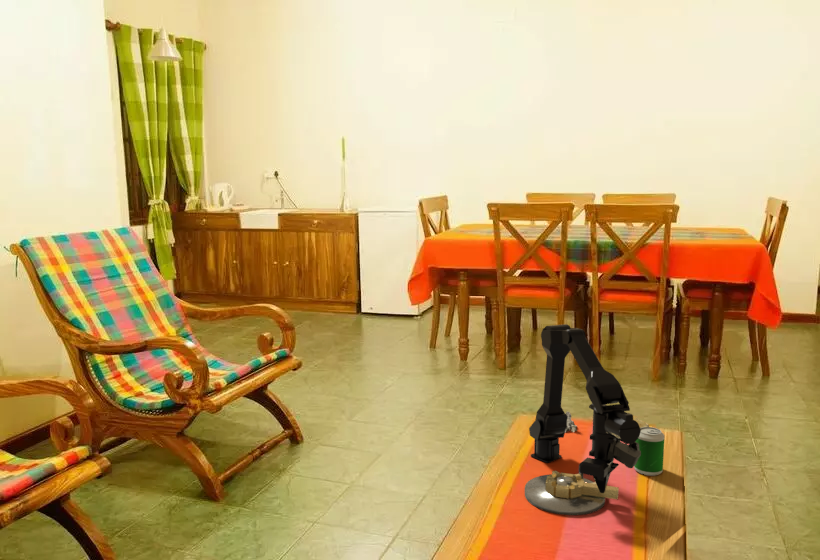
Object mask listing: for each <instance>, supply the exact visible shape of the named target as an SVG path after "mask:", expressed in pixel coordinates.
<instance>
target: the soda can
mask: <svg viewBox="0 0 820 560" xmlns="http://www.w3.org/2000/svg"><path fill="white" fill-rule="evenodd" d="M640 429H641V431H640V436H639V438H638V439H637V440H636V441H635V442H637V443H638V444H639V451H641V456H640V457H639V459H638V461H637V463H636V465H635V466H634V467H633V468H634V470H635V471H636V472H638V473H639V474H641V475H643V474H644V475H643V476H647V477H649V476H650V477H654V476H658V475H661V474H662V473H663V470H664V454H665V453H664V451H665V434H664V433H663V432H662V430H661V429H658V428H657V427H653V426H649V427H642V428H640Z"/></svg>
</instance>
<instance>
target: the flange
mask: <svg viewBox="0 0 820 560" xmlns="http://www.w3.org/2000/svg"><path fill="white" fill-rule="evenodd" d="M551 474H552V473H551ZM551 474H550V473H549V474H543V475H539V476H535V477H534V478H531V479H529V480H528V481H527V482H526V483H525V486H524V497H525V499H526V500H527V502H528V503H530V504H531V505H532V506H533V507H536V508H537V509H540V510H542V511H545V512H548V513H551V514H555V515H562V516H563V515H564V516H585V515H590V514H593V513H596V512H598V511H600V510H601V509H602V508H603V507H604V506H605V504H606V498H604V497H597V496H590V495H584V494H583V495H581V496H579V497H575V498H569V499H568V498H562V497H555V496H553V495H552V494H550V493H549V492H547V491H546V490H545V486H546V479H547V476H549V475H551ZM578 474H580V475H581V479H583V480H584V482H587V483H591V484H596V482H595V481H592V480H590V479H588V478H585V477H584V474H582V473H579V472H578ZM572 482H573V479H572V478H570V477H566V476H561V477H558V478H557V485H562V486H570V483H572Z"/></svg>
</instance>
